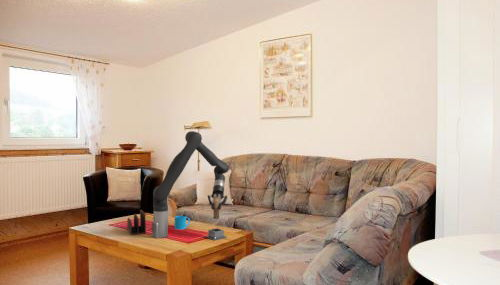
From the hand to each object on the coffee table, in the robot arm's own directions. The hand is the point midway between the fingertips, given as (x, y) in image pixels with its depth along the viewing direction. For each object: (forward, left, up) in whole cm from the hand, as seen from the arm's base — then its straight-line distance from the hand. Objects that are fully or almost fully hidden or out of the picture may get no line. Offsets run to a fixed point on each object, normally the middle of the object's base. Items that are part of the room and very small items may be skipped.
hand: (215, 209), depth 245 cm
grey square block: (+1, +1, -19) cm, 19 cm away
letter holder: (-32, +50, -20) cm, 62 cm away
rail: (+1, +1, -7) cm, 7 cm away
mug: (-2, +38, -20) cm, 43 cm away
